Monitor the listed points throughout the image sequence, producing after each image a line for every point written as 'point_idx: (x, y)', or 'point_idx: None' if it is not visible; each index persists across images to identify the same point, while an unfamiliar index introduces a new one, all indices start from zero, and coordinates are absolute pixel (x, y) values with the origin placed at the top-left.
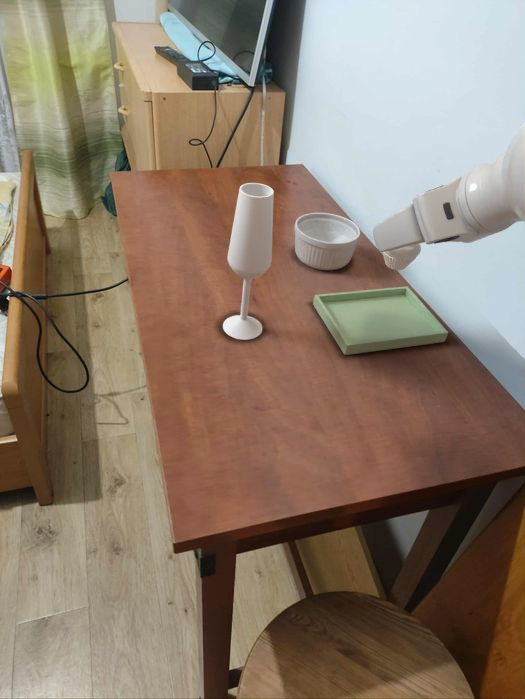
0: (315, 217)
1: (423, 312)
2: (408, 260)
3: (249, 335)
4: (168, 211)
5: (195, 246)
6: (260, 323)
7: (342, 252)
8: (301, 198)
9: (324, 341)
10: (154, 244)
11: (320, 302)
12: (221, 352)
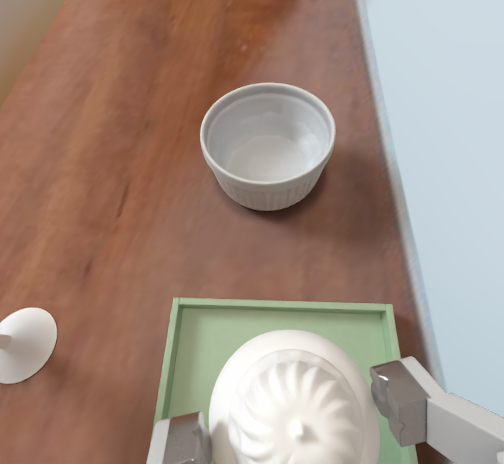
0: (267, 92)
1: None
2: None
3: (9, 377)
4: (93, 51)
5: (81, 126)
6: (55, 340)
7: (275, 195)
8: (307, 28)
9: (138, 427)
10: (29, 117)
11: (170, 325)
12: None
